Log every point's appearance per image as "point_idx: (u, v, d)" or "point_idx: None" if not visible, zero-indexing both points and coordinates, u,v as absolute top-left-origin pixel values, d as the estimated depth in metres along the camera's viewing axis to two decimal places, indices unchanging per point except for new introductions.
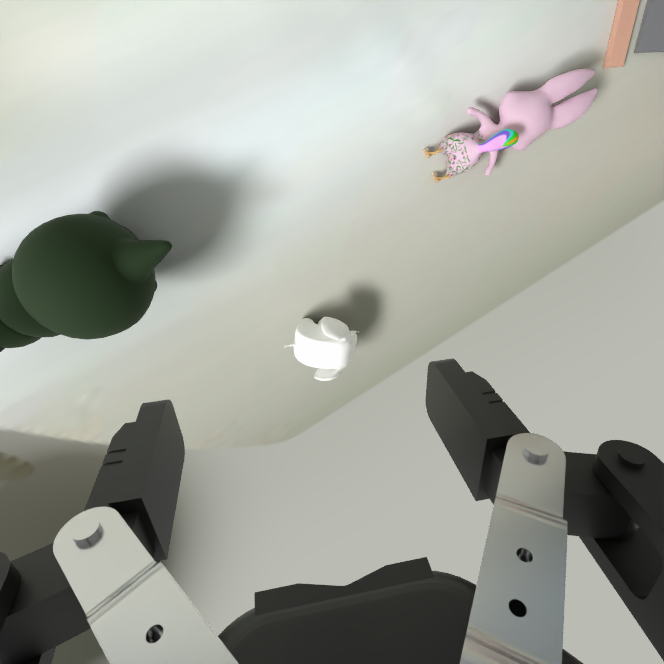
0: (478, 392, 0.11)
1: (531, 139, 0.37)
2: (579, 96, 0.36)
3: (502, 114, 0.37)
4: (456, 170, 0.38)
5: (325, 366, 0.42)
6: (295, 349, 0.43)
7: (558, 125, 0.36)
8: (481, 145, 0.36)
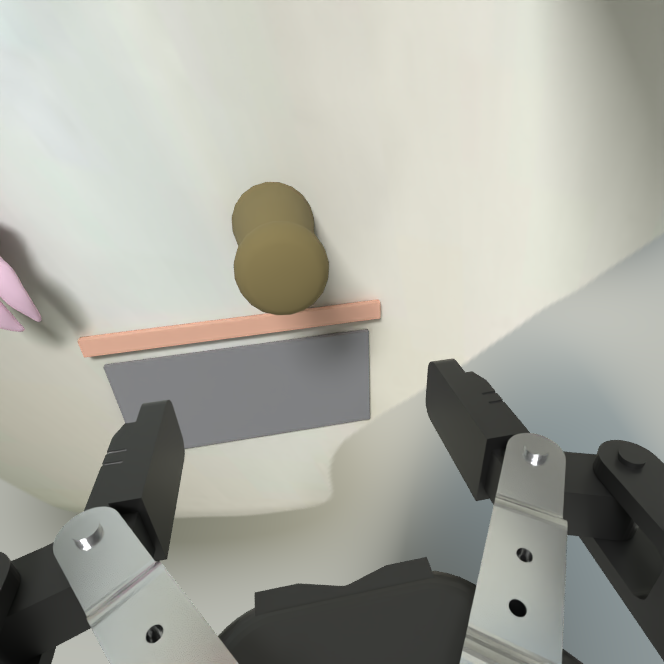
0: (478, 392, 0.11)
1: None
2: (2, 310, 0.28)
3: None
4: None
5: None
6: None
7: None
8: None
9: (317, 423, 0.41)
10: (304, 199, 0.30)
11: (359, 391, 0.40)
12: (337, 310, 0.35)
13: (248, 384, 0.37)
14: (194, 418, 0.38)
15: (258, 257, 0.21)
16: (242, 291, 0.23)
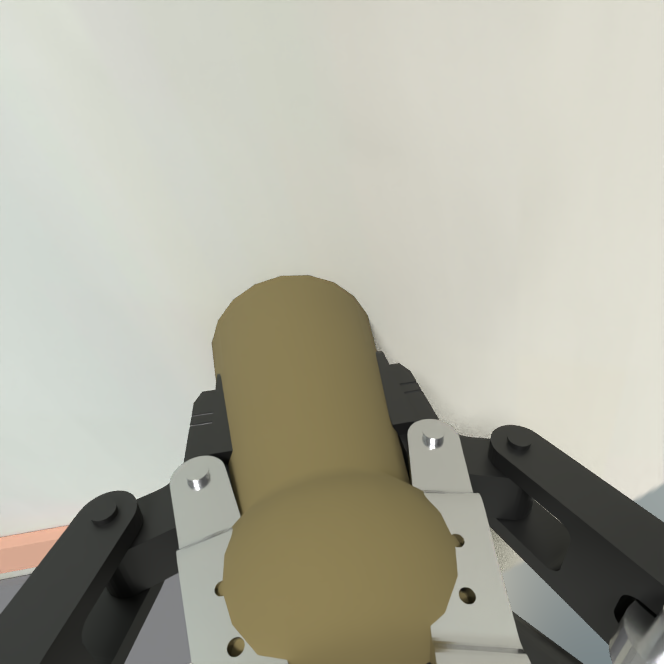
0: (396, 382, 0.12)
1: None
2: None
3: None
4: None
5: None
6: None
7: None
8: None
9: None
10: (359, 307, 0.15)
11: None
12: None
13: None
14: (155, 638, 0.23)
15: None
16: None
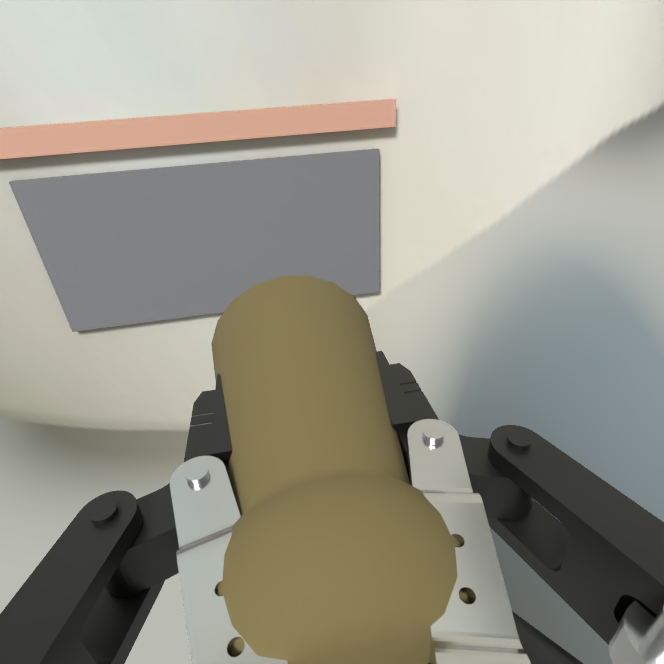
0: (396, 382, 0.12)
1: None
2: None
3: None
4: None
5: None
6: None
7: None
8: None
9: None
10: (359, 307, 0.15)
11: (366, 247, 0.30)
12: (336, 107, 0.25)
13: (216, 226, 0.28)
14: (145, 276, 0.28)
15: None
16: None
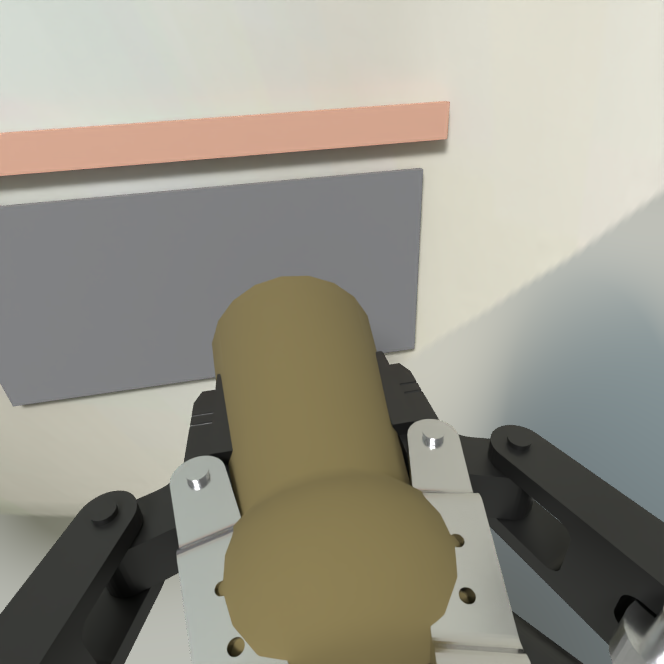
0: (396, 382, 0.12)
1: None
2: None
3: None
4: None
5: None
6: None
7: None
8: None
9: None
10: (359, 308, 0.15)
11: (399, 294, 0.23)
12: (367, 112, 0.18)
13: (202, 271, 0.20)
14: (107, 336, 0.21)
15: None
16: None
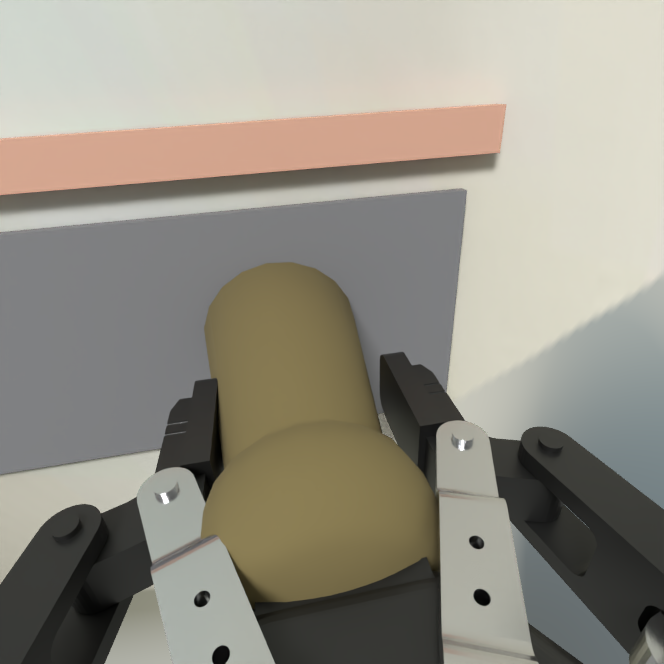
0: (420, 383, 0.12)
1: None
2: None
3: None
4: None
5: None
6: None
7: None
8: None
9: None
10: (339, 291, 0.16)
11: (430, 341, 0.19)
12: (399, 118, 0.14)
13: (185, 318, 0.16)
14: (66, 398, 0.17)
15: (263, 585, 0.07)
16: None
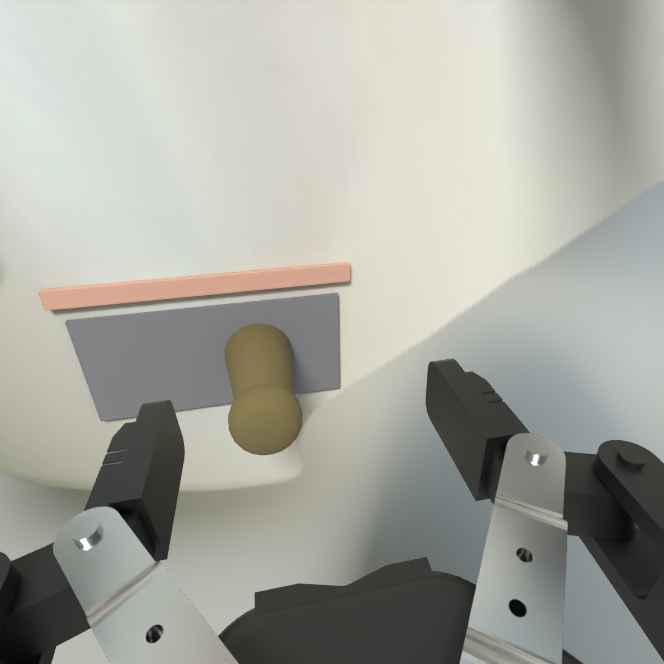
0: (478, 392, 0.11)
1: None
2: None
3: None
4: None
5: None
6: None
7: None
8: None
9: None
10: (284, 335, 0.37)
11: (329, 358, 0.40)
12: (306, 270, 0.35)
13: (216, 346, 0.37)
14: (160, 381, 0.37)
15: (247, 421, 0.28)
16: (235, 440, 0.29)
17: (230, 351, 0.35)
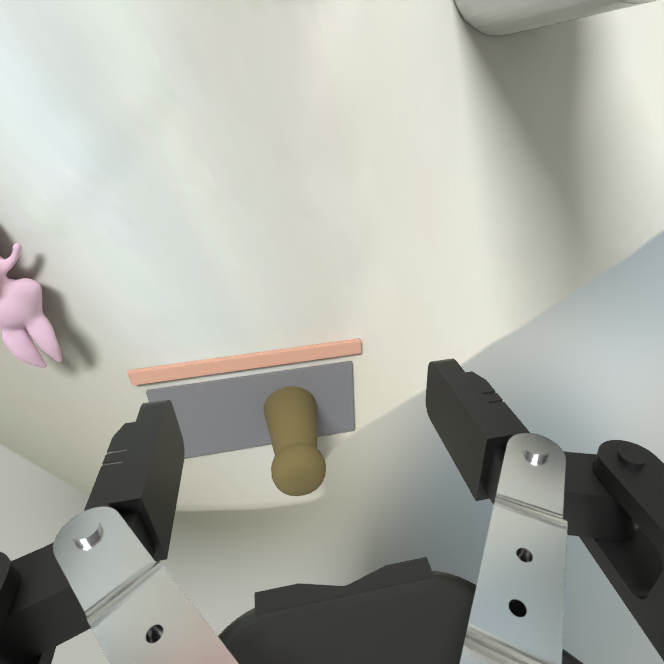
0: (478, 392, 0.11)
1: None
2: (35, 351, 0.37)
3: (16, 280, 0.35)
4: None
5: None
6: None
7: (3, 335, 0.36)
8: None
9: None
10: (309, 395, 0.47)
11: (345, 408, 0.50)
12: (327, 347, 0.45)
13: (257, 404, 0.47)
14: (214, 431, 0.48)
15: (286, 474, 0.38)
16: (276, 486, 0.40)
17: (269, 410, 0.46)
